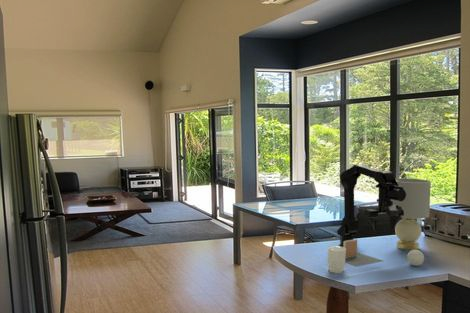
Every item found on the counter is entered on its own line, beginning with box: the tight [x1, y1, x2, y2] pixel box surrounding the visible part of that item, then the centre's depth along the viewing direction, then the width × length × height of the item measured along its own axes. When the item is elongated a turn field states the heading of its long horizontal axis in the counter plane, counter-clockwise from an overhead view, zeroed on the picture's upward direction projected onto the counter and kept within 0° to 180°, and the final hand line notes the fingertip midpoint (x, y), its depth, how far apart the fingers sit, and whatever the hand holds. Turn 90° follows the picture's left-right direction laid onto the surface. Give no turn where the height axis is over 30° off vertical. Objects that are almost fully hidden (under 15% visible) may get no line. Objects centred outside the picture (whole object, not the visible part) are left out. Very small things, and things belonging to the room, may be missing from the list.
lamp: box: [391, 177, 432, 251], centre depth 251 cm, size 20×20×35 cm
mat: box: [345, 252, 384, 267], centre depth 227 cm, size 16×18×1 cm
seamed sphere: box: [406, 249, 425, 267], centre depth 219 cm, size 10×7×7 cm
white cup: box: [327, 245, 346, 274], centre depth 210 cm, size 8×8×10 cm
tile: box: [343, 238, 358, 258], centre depth 231 cm, size 1×8×8 cm, turn 121°
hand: (383, 230), depth 230 cm, fingers open, 9 cm apart
